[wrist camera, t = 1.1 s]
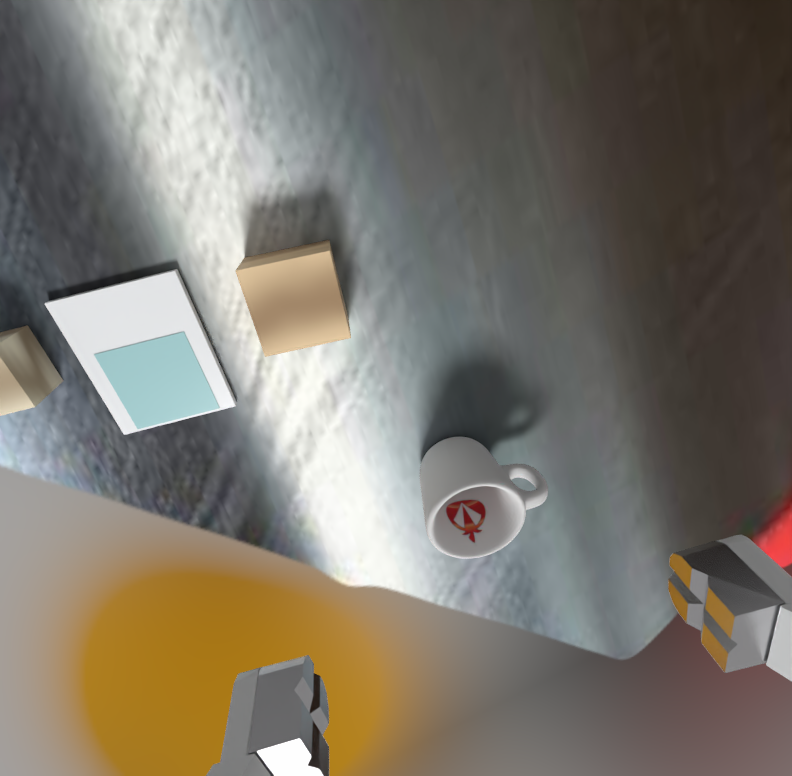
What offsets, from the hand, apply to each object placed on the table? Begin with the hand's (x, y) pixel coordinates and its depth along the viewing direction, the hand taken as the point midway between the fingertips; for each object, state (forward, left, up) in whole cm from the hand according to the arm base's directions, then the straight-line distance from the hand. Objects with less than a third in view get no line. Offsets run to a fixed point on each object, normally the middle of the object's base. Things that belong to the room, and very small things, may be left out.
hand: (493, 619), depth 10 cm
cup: (+18, +5, -28) cm, 34 cm away
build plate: (+1, -17, -28) cm, 33 cm away
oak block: (-1, -5, -28) cm, 29 cm away
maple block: (-1, -26, -28) cm, 39 cm away
